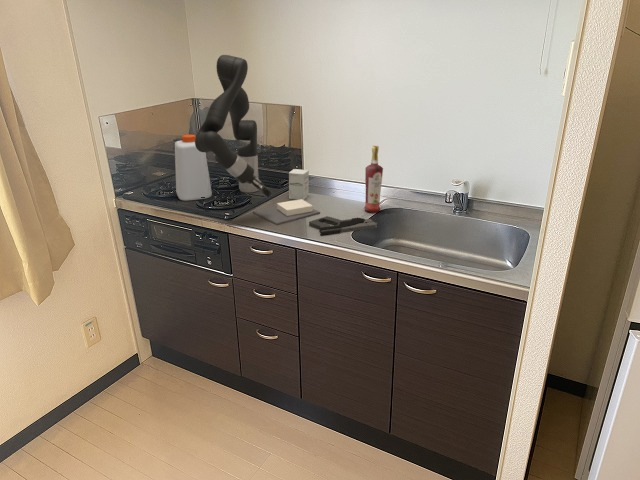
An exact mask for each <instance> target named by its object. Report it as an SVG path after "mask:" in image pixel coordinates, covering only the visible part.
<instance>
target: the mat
mask: <svg viewBox="0 0 640 480" xmlns="http://www.w3.org/2000/svg"><path fill="white" fill-rule="evenodd" d="M252 213H253V214H254V215H256V216H259V217H260V218H261V219H264V220H266V221H268V222H270V223H272V224H274V225H275V226H279V225H280V226H281V225H283V224H286V223H291V222H293V221H298V220H302V219H305V218H306V219H307V218H309V217H313V216H316V215H320V214H321V211H320V210H317V209H314V208H313V211H312V212H308V213H303V214H297V215H291V216H286V215H285V214H284V213H282V212H281V211H279V210H278V209H277V205H274V206H269V207H266V208H261V209H257V210H253V211H252Z"/></svg>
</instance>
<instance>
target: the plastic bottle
mask: <svg viewBox="0 0 640 480" xmlns="http://www.w3.org/2000/svg"><path fill="white" fill-rule="evenodd" d="M195 138H196V134H184V135H183V134H182V136H181V140H177V141H175V142H174V161H175V163H174V165H175V190H176V191H175V192H176V195H177V197H178V199H179V200H181V201H185V202H189V201H197V200H205V199H209V198H211V197H212V195H213V192H212V187H211V180H210V172H209V166H208V160H207V154H206V153H207V152H200V151H199V150H197V148H196V146H195ZM201 197H205V198H201Z"/></svg>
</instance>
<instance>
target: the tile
mask: <svg viewBox="0 0 640 480" xmlns="http://www.w3.org/2000/svg"><path fill="white" fill-rule="evenodd" d="M276 206H277V209H278V210H279V211H281V212H282V213H284V214H285V215H286V216H291V215H297V214H303V213H308V212H312V211H313V209H314V208H313V207H314V206H313V205H312V204H311V203H309V202H308V201H306V200H303V199H300V200H297V199H293V200H289V201H282V202H277V203H276Z"/></svg>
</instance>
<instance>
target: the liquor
mask: <svg viewBox="0 0 640 480" xmlns="http://www.w3.org/2000/svg"><path fill="white" fill-rule="evenodd" d="M379 149H380V148H379V146H378V145H372V146H371V153H372V154H371V162H370V164H369V165H367V166H366V167H365V168H364V170H365V173H364V174H365V177H364V178H365V179H364V181H365V205H364V207H363V209H364V210H365V211H366V212H368V213H373V214H375V213H377V212H378V211H380V209H381V207H380V204H381V203H380V200H381V191H382V190H381V189H382V184H383V183H382V182H383V173H384V168H383V166H381V165H379Z"/></svg>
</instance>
